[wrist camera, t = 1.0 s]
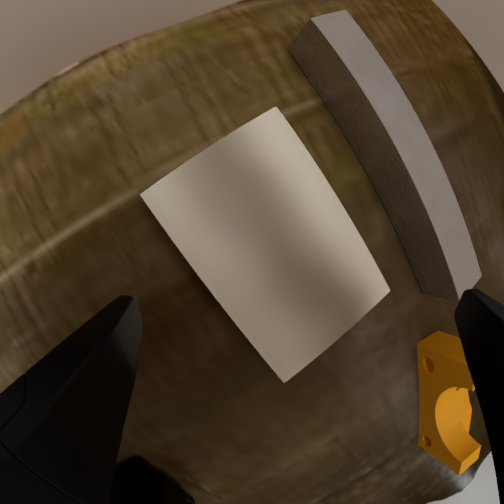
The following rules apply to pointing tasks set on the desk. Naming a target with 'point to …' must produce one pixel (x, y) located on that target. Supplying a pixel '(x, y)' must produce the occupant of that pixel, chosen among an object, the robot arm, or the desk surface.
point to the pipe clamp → (445, 402)
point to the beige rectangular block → (270, 241)
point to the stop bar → (390, 151)
